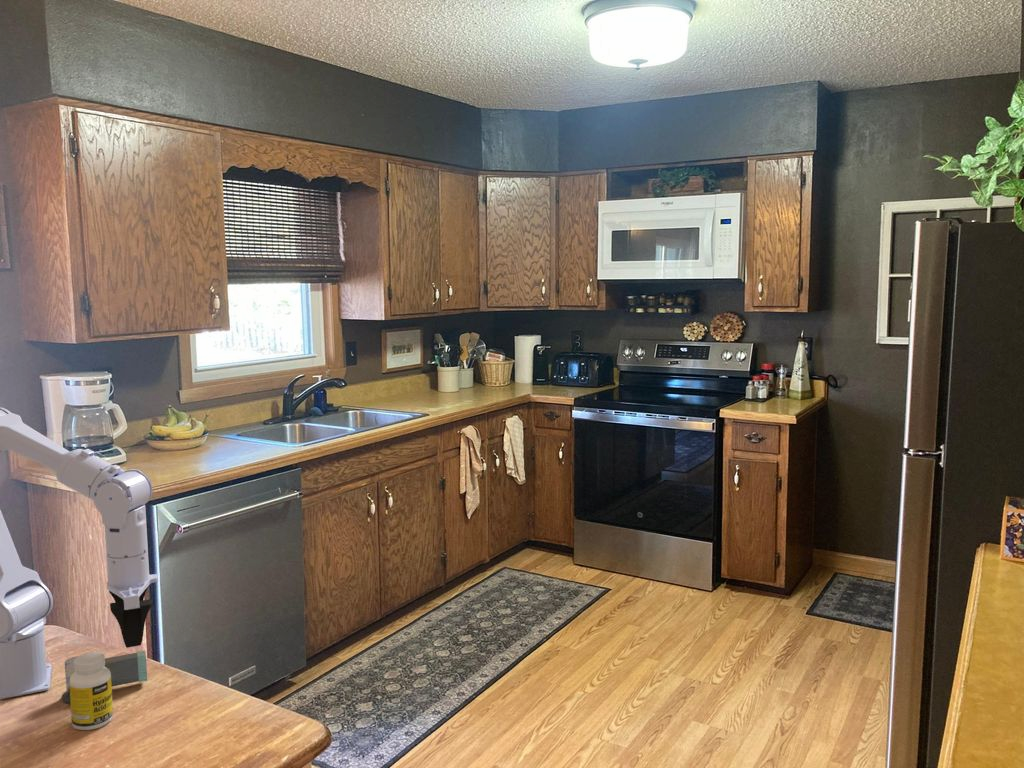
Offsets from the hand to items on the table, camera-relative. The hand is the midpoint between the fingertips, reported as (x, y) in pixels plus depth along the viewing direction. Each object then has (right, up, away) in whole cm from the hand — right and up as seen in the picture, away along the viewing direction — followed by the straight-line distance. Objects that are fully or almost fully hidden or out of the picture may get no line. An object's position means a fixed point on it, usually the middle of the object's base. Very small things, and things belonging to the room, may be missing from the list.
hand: (132, 637), depth 129 cm
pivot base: (-9, -9, +1) cm, 13 cm away
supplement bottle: (-3, -11, -6) cm, 13 cm away
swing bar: (-5, -8, +3) cm, 10 cm away
